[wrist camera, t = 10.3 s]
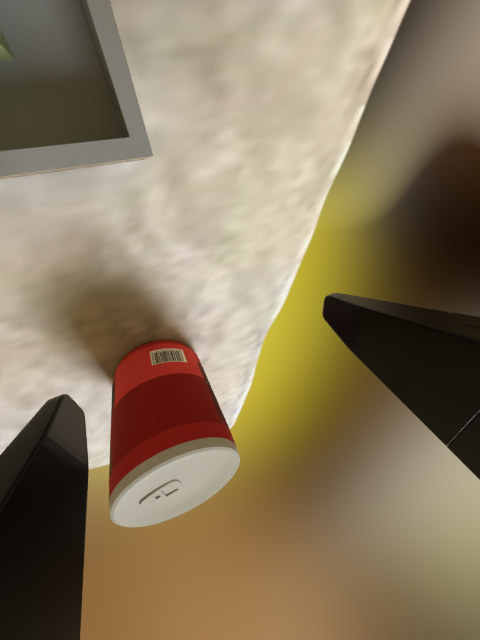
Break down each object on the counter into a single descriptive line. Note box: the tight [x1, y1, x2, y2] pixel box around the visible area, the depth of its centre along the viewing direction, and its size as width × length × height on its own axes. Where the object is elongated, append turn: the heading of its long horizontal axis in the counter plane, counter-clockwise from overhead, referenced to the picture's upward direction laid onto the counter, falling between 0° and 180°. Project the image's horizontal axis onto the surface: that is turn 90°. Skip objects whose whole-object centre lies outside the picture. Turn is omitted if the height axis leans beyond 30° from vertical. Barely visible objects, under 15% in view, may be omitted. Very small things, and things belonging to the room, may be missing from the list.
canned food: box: [109, 340, 240, 527], centre depth 18 cm, size 8×8×11 cm
